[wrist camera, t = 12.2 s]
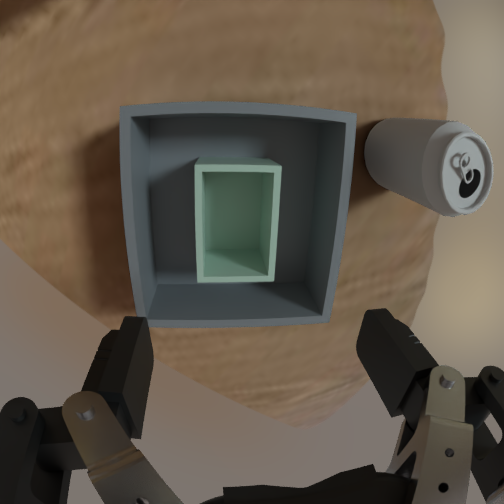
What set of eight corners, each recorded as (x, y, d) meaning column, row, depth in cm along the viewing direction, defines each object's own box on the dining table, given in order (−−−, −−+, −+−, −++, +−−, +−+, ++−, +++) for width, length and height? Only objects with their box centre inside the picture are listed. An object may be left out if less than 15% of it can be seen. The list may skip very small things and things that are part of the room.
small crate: (199, 157, 26) (194, 164, 20) (267, 157, 26) (281, 165, 21) (200, 252, 29) (197, 282, 24) (263, 252, 30) (273, 281, 24)
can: (383, 202, 30) (456, 243, 19) (346, 144, 27) (419, 160, 16) (428, 161, 29) (508, 186, 18) (396, 104, 26) (479, 104, 15)
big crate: (143, 111, 24) (119, 106, 18) (324, 115, 26) (356, 113, 19) (152, 287, 31) (138, 326, 24) (308, 285, 33) (329, 322, 26)
